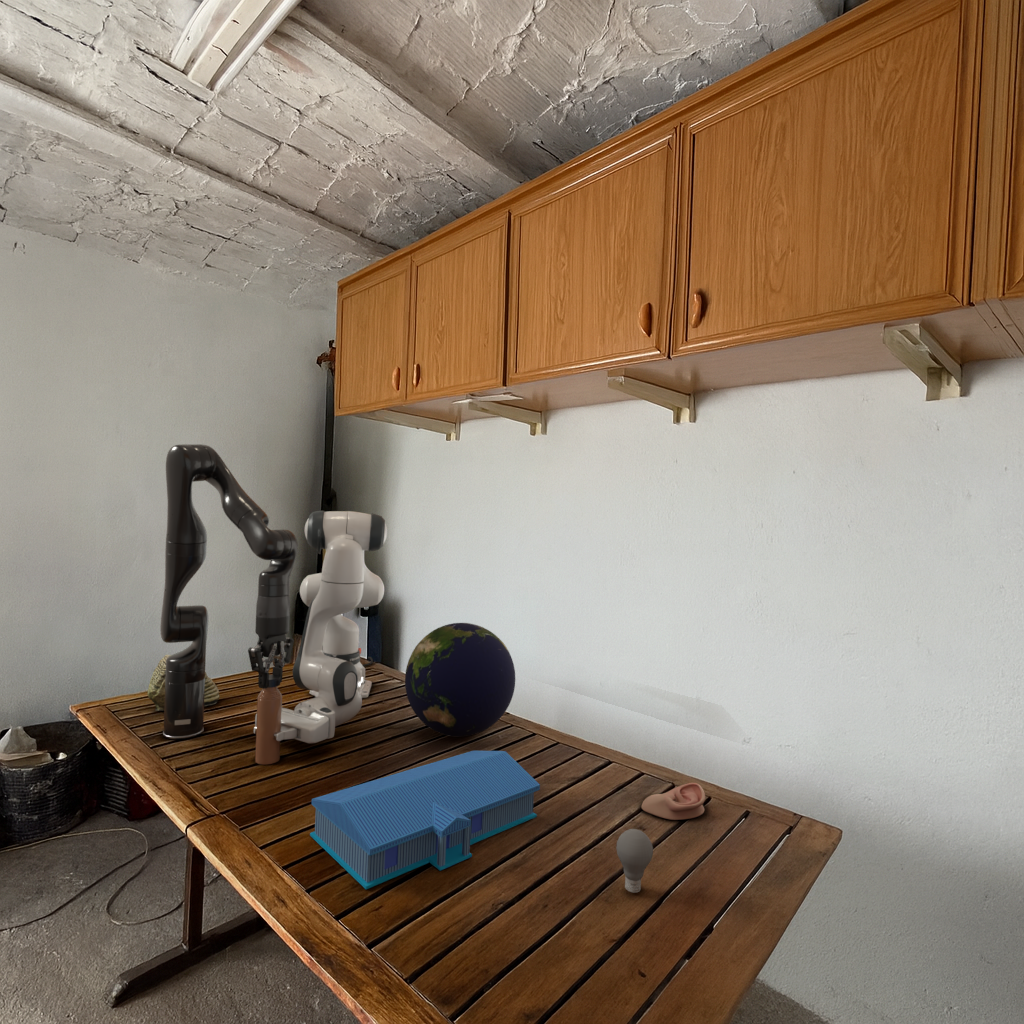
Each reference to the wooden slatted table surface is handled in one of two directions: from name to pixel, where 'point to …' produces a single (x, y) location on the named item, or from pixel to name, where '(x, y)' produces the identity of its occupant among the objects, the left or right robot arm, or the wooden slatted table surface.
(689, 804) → the anatomical model
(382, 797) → the model building
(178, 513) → the left robot arm
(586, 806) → the wooden slatted table surface
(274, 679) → the cap
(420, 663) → the globe
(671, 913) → the wooden slatted table surface
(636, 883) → the light bulb
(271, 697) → the bottle
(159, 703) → the fossil
